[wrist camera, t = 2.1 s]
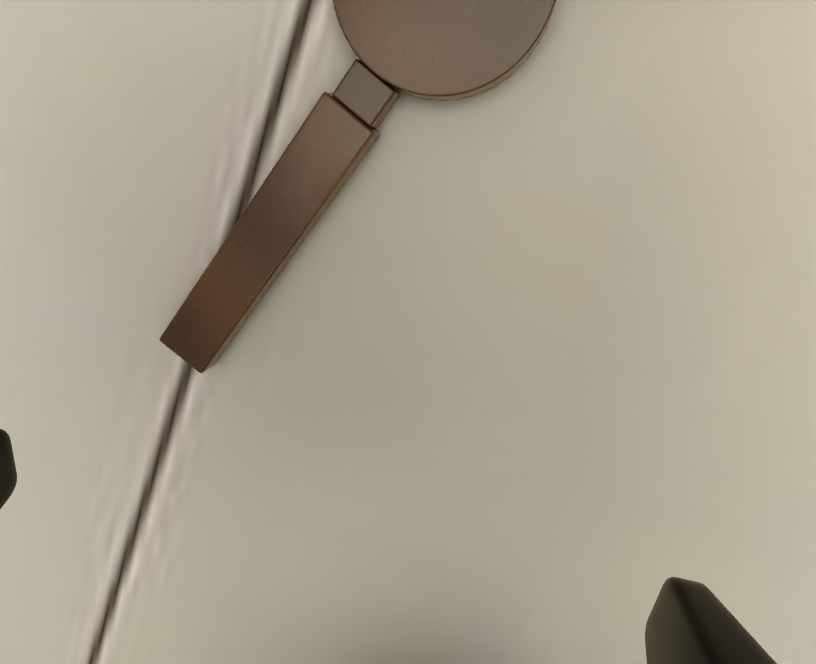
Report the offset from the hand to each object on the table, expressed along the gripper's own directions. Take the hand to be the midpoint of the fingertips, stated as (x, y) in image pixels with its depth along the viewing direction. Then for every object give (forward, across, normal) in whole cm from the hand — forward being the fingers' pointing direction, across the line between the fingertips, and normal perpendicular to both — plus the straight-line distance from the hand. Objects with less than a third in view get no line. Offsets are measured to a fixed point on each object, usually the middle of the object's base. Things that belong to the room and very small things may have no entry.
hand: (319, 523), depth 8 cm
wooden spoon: (+12, +4, -3) cm, 13 cm away
